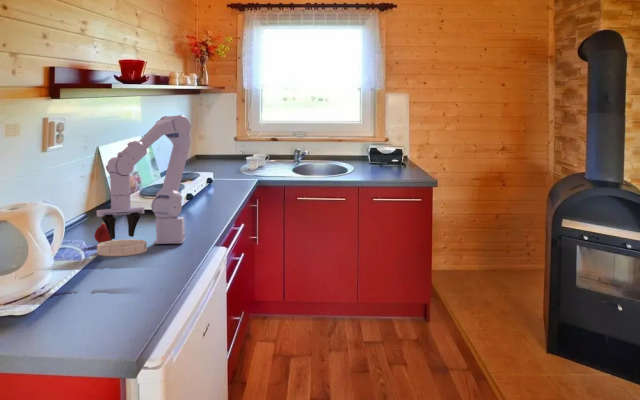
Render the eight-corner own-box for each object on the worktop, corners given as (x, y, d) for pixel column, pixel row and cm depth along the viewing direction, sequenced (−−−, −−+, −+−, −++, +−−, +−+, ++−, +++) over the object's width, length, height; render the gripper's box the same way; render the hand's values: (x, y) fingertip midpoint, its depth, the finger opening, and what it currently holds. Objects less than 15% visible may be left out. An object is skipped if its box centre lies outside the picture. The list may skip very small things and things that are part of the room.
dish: (151, 247, 164) (151, 238, 163) (141, 255, 149) (141, 246, 149) (104, 248, 161) (104, 239, 161) (90, 257, 147) (89, 248, 146)
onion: (116, 244, 168) (115, 221, 168) (109, 247, 163) (108, 223, 162) (99, 244, 168) (98, 221, 168) (92, 247, 163) (91, 223, 162)
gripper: (137, 193, 162) (138, 233, 163) (92, 195, 151) (93, 238, 152) (146, 194, 157) (148, 236, 158) (101, 196, 146) (102, 241, 147)
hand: (122, 237), depth 155 cm, fingers open, 5 cm apart
